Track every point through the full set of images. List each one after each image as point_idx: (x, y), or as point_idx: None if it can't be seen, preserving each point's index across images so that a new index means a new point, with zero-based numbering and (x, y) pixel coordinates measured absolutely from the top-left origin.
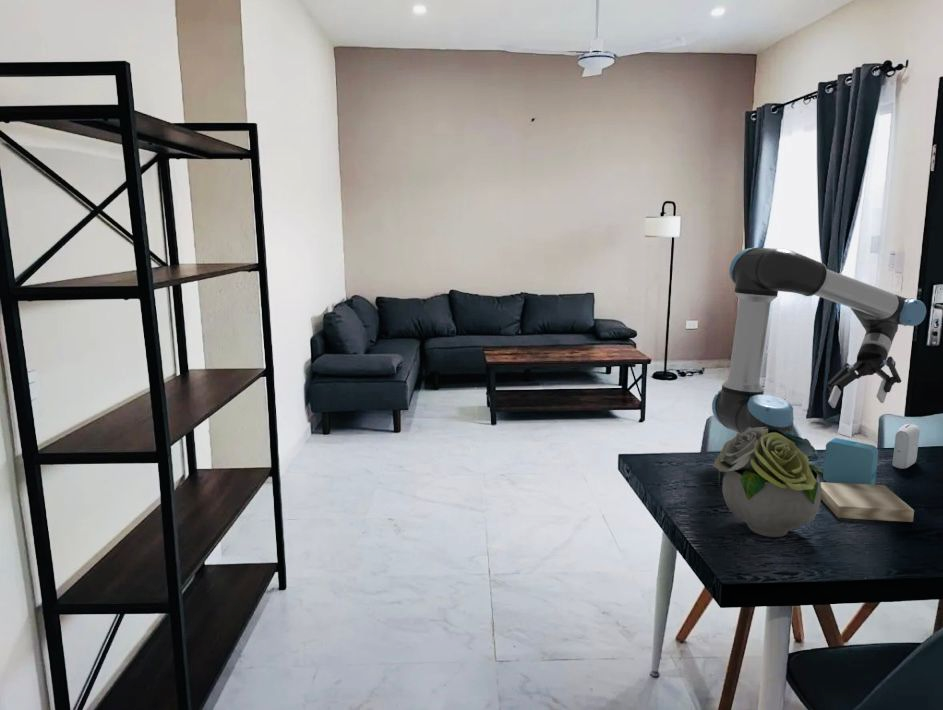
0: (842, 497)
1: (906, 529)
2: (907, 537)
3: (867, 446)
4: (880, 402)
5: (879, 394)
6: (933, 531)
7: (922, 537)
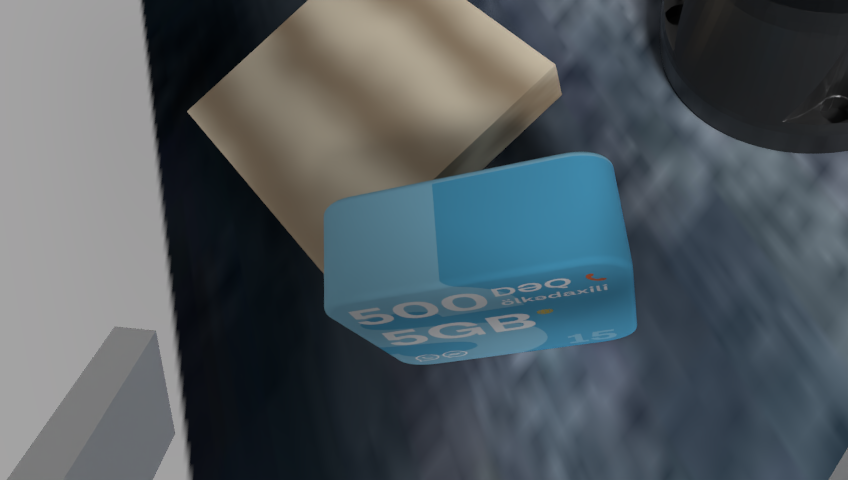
0: (400, 8)
1: (218, 66)
2: (206, 20)
3: (361, 240)
4: (172, 422)
5: (102, 350)
6: (157, 119)
7: (176, 54)
